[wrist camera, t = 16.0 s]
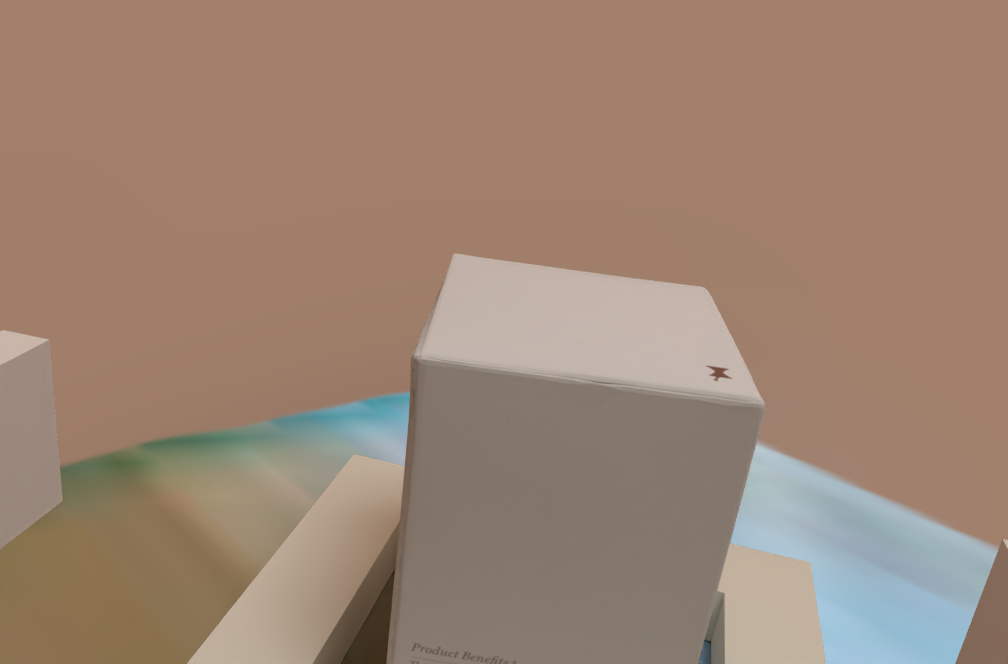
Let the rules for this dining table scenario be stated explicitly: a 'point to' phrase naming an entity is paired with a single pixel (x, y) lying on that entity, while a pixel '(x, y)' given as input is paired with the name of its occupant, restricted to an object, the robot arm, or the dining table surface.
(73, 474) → the dining table surface
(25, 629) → the dining table surface
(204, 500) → the dining table surface
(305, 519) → the hole board
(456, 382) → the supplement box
